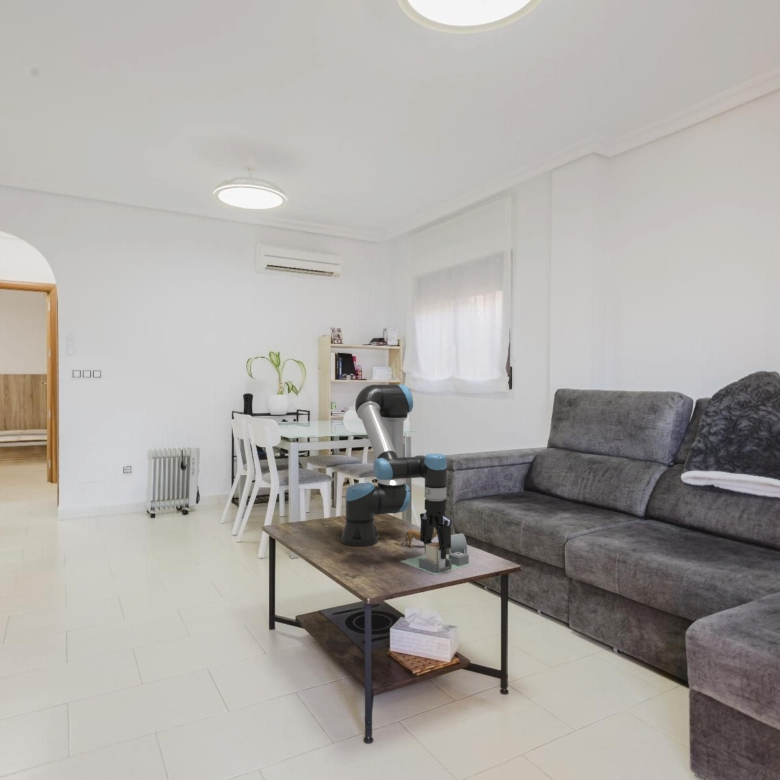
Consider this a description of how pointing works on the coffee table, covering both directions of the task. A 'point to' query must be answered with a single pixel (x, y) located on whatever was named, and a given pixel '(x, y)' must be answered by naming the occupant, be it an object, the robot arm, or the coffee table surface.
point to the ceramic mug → (458, 544)
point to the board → (415, 561)
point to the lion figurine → (415, 536)
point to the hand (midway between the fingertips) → (435, 565)
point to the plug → (432, 552)
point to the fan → (459, 558)
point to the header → (434, 565)
